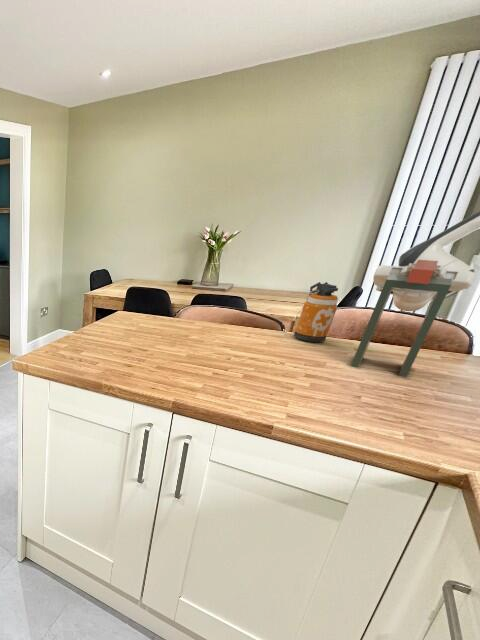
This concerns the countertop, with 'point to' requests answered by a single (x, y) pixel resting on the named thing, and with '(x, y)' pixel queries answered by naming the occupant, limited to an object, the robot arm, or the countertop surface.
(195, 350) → the countertop surface
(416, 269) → the red bar
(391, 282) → the dark green stand
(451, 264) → the robot arm
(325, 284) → the canister
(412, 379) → the countertop surface
